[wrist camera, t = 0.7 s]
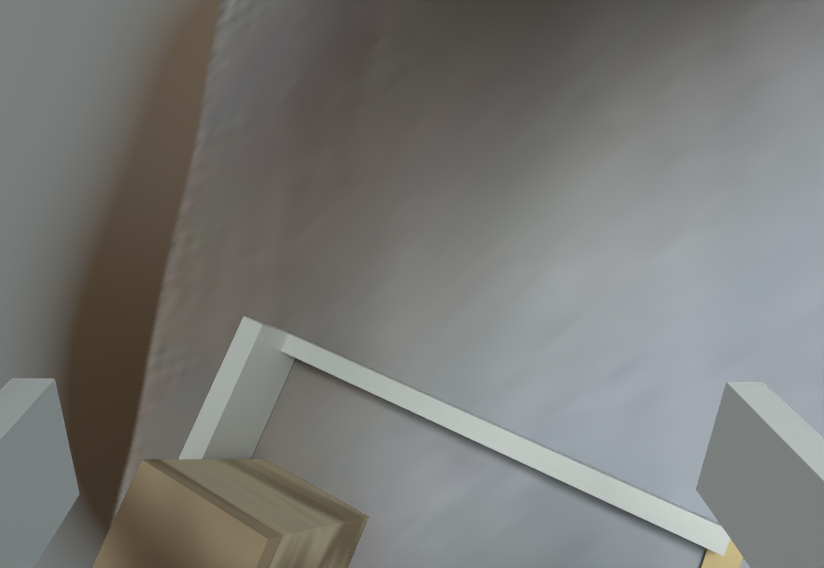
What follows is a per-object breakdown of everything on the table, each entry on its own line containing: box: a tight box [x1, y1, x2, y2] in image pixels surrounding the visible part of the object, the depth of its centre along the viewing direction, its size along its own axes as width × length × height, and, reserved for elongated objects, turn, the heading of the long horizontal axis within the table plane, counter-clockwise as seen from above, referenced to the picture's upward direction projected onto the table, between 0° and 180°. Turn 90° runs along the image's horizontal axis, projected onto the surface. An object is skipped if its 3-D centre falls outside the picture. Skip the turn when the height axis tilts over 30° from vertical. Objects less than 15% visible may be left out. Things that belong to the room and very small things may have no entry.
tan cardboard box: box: [92, 459, 369, 568], centre depth 33 cm, size 6×8×11 cm
